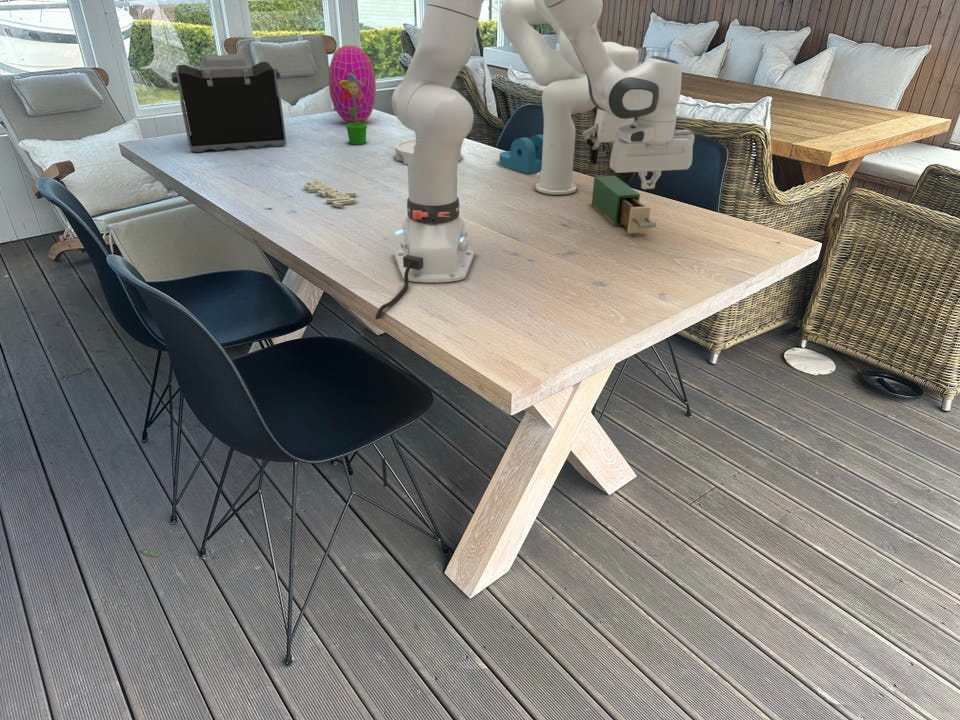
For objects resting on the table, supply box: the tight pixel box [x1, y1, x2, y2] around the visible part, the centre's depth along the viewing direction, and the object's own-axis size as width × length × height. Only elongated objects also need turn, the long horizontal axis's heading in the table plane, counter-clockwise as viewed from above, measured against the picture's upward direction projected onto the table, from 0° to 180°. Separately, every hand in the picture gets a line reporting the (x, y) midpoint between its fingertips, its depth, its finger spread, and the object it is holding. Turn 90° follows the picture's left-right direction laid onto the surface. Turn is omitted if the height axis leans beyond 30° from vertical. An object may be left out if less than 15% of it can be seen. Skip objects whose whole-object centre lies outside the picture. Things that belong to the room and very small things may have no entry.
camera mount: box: [498, 133, 543, 175], centre depth 233 cm, size 18×10×10 cm, turn 39°
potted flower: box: [339, 73, 368, 145], centre depth 255 cm, size 9×8×25 cm
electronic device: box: [170, 53, 287, 153], centre depth 252 cm, size 37×22×30 cm, turn 111°
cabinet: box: [591, 175, 641, 227], centre depth 191 cm, size 18×6×8 cm, turn 12°
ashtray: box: [394, 138, 462, 165], centre depth 243 cm, size 23×23×4 cm
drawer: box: [618, 197, 657, 234], centre depth 181 cm, size 22×5×7 cm, turn 12°
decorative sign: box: [303, 179, 356, 208], centre depth 205 cm, size 26×1×10 cm
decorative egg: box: [328, 44, 377, 124], centre depth 286 cm, size 19×19×30 cm
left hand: (647, 188), depth 170 cm, fingers closed
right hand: (609, 162), depth 191 cm, fingers open, 9 cm apart
